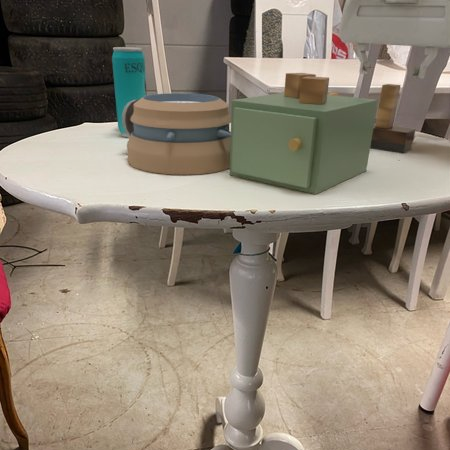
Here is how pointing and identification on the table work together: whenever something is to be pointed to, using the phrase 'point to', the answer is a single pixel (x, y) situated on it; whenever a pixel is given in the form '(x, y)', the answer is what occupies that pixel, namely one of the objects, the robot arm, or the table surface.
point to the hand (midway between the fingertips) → (390, 75)
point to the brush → (390, 124)
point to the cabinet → (301, 140)
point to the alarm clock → (178, 133)
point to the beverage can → (128, 79)
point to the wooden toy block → (294, 84)
